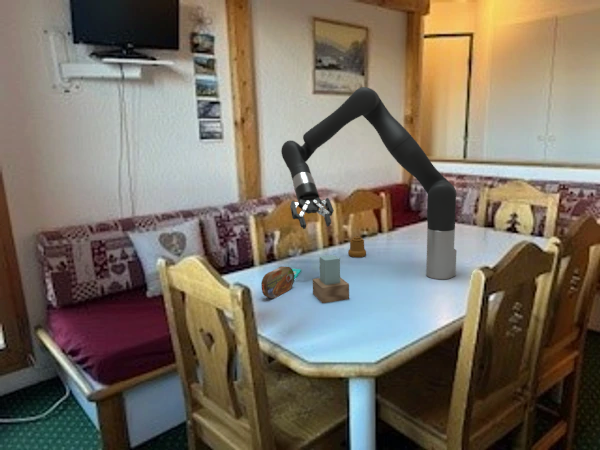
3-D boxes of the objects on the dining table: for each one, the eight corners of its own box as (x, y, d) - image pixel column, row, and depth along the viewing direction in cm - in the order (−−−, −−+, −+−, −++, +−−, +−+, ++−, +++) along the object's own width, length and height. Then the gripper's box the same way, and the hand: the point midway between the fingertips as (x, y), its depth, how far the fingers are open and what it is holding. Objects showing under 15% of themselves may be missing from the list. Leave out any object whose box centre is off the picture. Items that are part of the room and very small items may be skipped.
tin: (268, 302, 149) (266, 276, 148) (260, 300, 151) (258, 275, 149) (295, 287, 162) (294, 263, 160) (287, 286, 163) (286, 262, 161)
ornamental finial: (365, 258, 192) (346, 257, 194) (367, 253, 199) (349, 252, 201) (365, 239, 190) (346, 238, 192) (367, 234, 197) (349, 234, 199)
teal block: (334, 278, 154) (333, 254, 153) (340, 282, 150) (339, 258, 148) (319, 280, 153) (319, 256, 151) (325, 285, 148) (324, 260, 146)
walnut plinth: (338, 289, 158) (338, 275, 157) (349, 299, 149) (349, 284, 148) (312, 293, 155) (312, 279, 154) (322, 303, 147) (322, 287, 146)
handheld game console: (302, 272, 179) (302, 268, 179) (290, 286, 164) (290, 282, 163) (276, 270, 181) (276, 267, 181) (263, 285, 166) (263, 281, 166)
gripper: (287, 183, 162) (298, 222, 153) (326, 180, 166) (339, 218, 158) (284, 196, 168) (294, 234, 160) (321, 193, 172) (334, 230, 164)
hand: (316, 226), depth 159 cm, fingers open, 8 cm apart
